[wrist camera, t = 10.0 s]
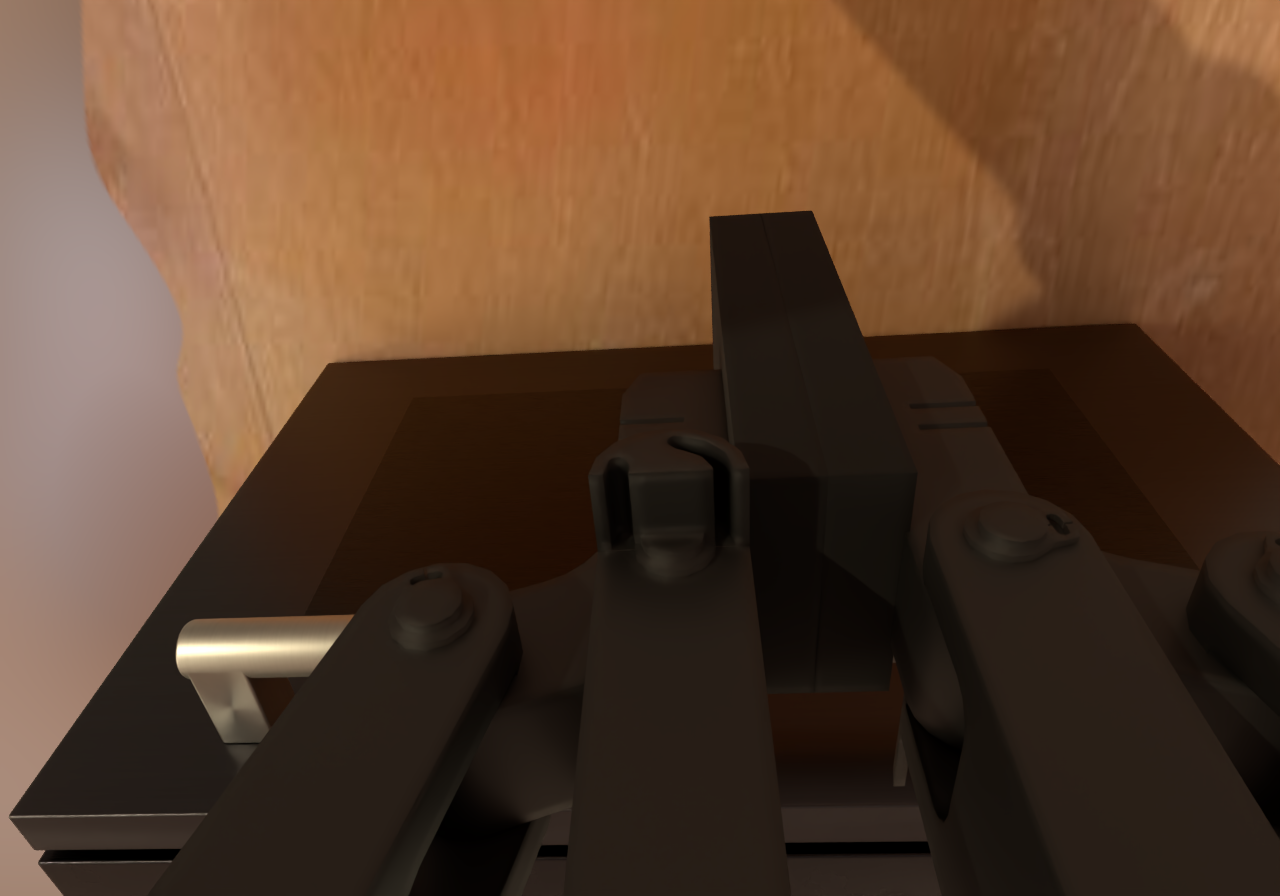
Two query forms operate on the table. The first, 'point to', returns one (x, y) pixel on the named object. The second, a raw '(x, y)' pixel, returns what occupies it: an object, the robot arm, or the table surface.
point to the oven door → (584, 553)
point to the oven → (554, 870)
